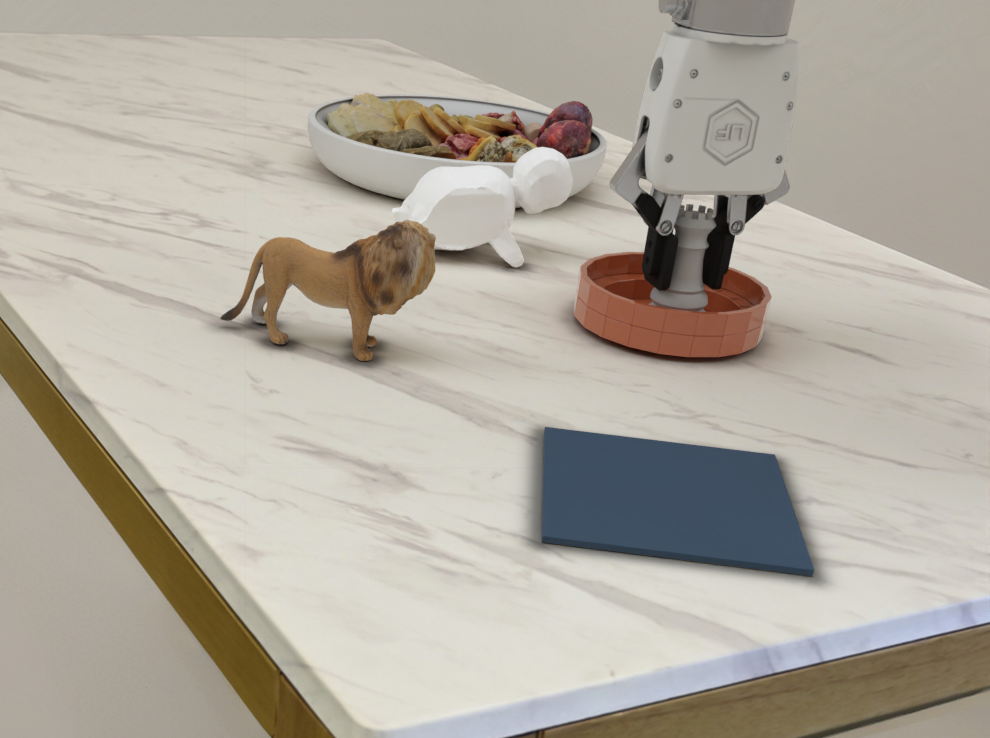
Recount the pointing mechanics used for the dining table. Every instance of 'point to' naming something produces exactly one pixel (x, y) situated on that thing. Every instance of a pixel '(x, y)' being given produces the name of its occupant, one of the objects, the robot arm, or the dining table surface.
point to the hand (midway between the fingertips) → (682, 281)
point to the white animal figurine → (486, 201)
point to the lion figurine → (343, 278)
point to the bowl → (445, 138)
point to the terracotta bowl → (668, 311)
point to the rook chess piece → (688, 262)
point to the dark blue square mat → (669, 501)
